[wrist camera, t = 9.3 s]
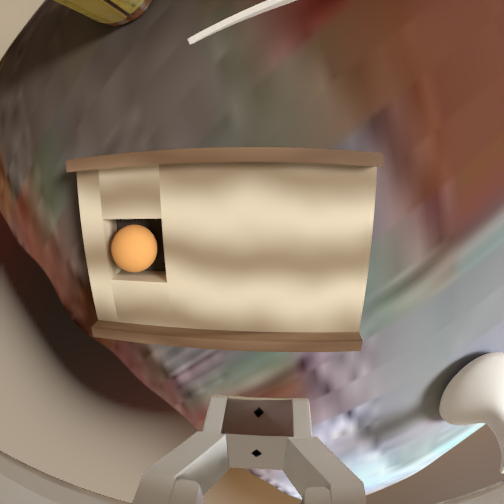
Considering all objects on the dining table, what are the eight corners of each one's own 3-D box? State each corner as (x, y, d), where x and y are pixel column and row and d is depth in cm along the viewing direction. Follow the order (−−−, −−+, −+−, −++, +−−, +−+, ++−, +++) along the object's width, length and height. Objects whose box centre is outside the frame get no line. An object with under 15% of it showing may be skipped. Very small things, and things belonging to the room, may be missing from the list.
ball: (114, 220, 27) (103, 234, 23) (157, 217, 28) (152, 231, 24) (119, 262, 28) (110, 281, 25) (161, 260, 29) (157, 279, 25)
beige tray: (90, 156, 26) (66, 160, 22) (368, 151, 24) (383, 153, 21) (110, 316, 31) (93, 336, 27) (351, 327, 29) (360, 350, 26)
